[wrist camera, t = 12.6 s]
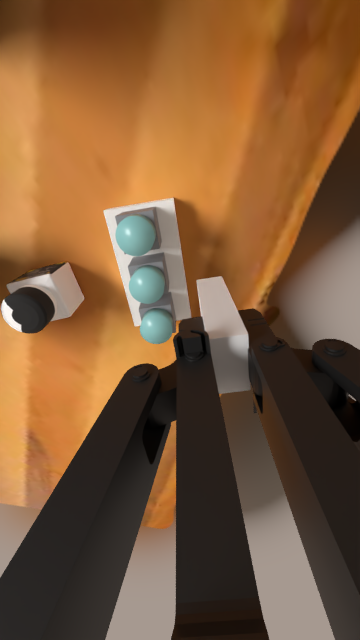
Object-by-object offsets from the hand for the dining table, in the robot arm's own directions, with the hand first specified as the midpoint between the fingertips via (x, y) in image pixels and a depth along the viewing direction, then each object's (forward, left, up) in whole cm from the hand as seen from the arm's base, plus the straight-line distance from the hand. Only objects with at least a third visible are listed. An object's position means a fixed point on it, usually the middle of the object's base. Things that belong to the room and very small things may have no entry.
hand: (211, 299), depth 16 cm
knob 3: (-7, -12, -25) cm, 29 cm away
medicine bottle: (-24, -6, -29) cm, 38 cm away
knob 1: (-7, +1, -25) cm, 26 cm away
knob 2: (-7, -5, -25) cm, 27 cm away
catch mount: (-7, -5, -28) cm, 30 cm away
